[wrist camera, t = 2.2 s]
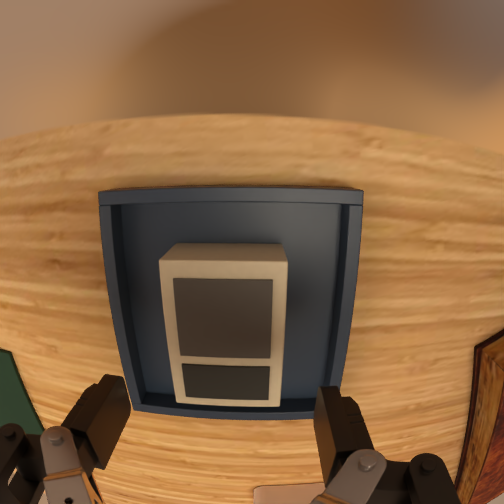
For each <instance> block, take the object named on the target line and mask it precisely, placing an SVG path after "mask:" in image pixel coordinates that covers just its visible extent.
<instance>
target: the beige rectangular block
mask: <svg viewBox="0 0 504 504" xmlns="http://www.w3.org/2000/svg"><path fill="white" fill-rule="evenodd" d="M159 269H160V280H161V291H162V301H163V311H164V319H165V328H166V336H167V344H168V351H169V358H170V365H171V372H172V378H173V384H174V390H175V396H176V402H178V403H189V404H202V405H219V406H250V407H278V406H280V397H281V384H282V369H283V354H284V337H285V319H286V299H287V277H288V261H287V258H286V255H285V251H284V248H283V245H282V244H251V243H176V244H175V245H174V246H173V247H172V248H171V249H170V250H169V251H168V252H167V253H166V254H165V255H164V256H163V257H162V258H161V259H160V260H159Z"/></svg>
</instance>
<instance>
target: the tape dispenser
mask: <svg viewBox="0 0 504 504" xmlns="http://www.w3.org/2000/svg"><path fill="white" fill-rule="evenodd" d="M325 489H326V488H325V486H324V482H323V483H313V484H299V485H278V486H260V487H257V488H255V489H254V504H310V503H311V501H312V500H313V499H314V498H315V497H316V496H317V495H318V494H320V495H321V494H322V493H323V492H324V490H325Z"/></svg>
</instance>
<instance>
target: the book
mask: <svg viewBox="0 0 504 504" xmlns="http://www.w3.org/2000/svg"><path fill="white" fill-rule="evenodd" d="M454 487H455V489H456V492H457V494H458V497H459V499H460V502H461V504H486V503H488V502H490V501H491V500H493V499H494V498H496V497H498V496H499V495H501V494H502V493H504V330H502V331H500V332H499V333H497V334H495V335H494V336H492V337H491V338H489V339H487V340H485V341H484V342H482V343H480V344H479V345H477V346H475V347H474V367H473V380H472V391H471V400H470V408H469V415H468V422H467V428H466V434H465V440H464V445H463V450H462V455H461V459H460V464H459V468H458V472H457V476H456V480H455V484H454Z"/></svg>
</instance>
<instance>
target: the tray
mask: <svg viewBox="0 0 504 504" xmlns="http://www.w3.org/2000/svg"><path fill="white" fill-rule="evenodd" d="M363 194H364V191H363V190H359V189H354V188H345V187H323V186H293V185H187V186H157V187H136V188H118V189H110V190H104V191H99V192H98V197H99V205H100V206H99V215H100V228H101V239H102V249H103V258H104V266H105V274H106V282H107V288H108V295H109V301H110V308H111V313H112V319H113V324H114V330H115V335H116V340H117V345H118V349H119V354H120V358H121V363H122V367H123V371H124V376H125V380H126V384H127V387H128V391H129V395H130V399H131V402H132V406H133V409H134V410H135V411H142V412H149V413H157V414H165V415H174V416H184V417H196V418H210V419H229V420H298V419H314V410H315V404H316V397H317V391H318V387H319V386H335V385H337V386H338V388H339V391H340V386H341V381H342V376H343V370H344V365H345V359H346V354H347V348H348V341H349V335H350V329H351V322H352V315H353V307H354V300H355V291H356V283H357V274H358V264H359V254H360V242H361V229H362V214H363ZM176 243H251V244H282V245H283V248H284V251H285V255H286V258H287V261H288V277H287V299H286V319H285V337H284V354H283V369H282V384H281V397H280V406H278V407H250V406H219V405H202V404H189V403H178V402H176V396H175V390H174V384H173V378H172V372H171V365H170V358H169V351H168V344H167V336H166V328H165V319H164V311H163V301H162V291H161V280H160V269H159V260H160V259H161V258H162V257H163V256H164V255H165V254H166V253H167V252H168V251H169V250H170V249H171V248H172V247H173V246H174V245H175V244H176Z"/></svg>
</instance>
